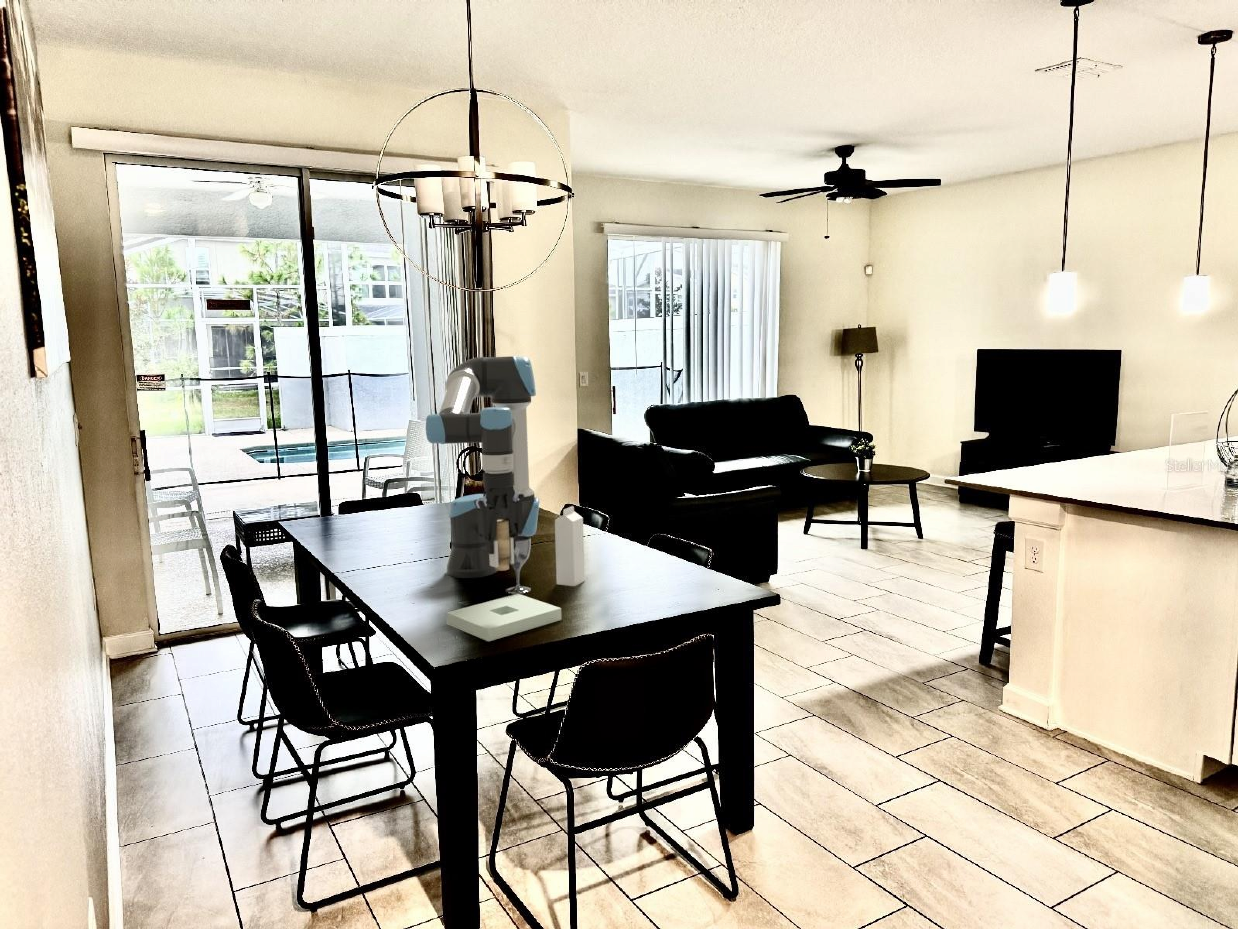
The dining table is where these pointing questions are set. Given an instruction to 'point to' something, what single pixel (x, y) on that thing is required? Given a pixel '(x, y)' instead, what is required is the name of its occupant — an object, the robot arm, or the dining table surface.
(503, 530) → the peg
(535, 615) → the board
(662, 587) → the dining table surface
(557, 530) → the milk
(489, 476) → the robot arm
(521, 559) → the wine glass
